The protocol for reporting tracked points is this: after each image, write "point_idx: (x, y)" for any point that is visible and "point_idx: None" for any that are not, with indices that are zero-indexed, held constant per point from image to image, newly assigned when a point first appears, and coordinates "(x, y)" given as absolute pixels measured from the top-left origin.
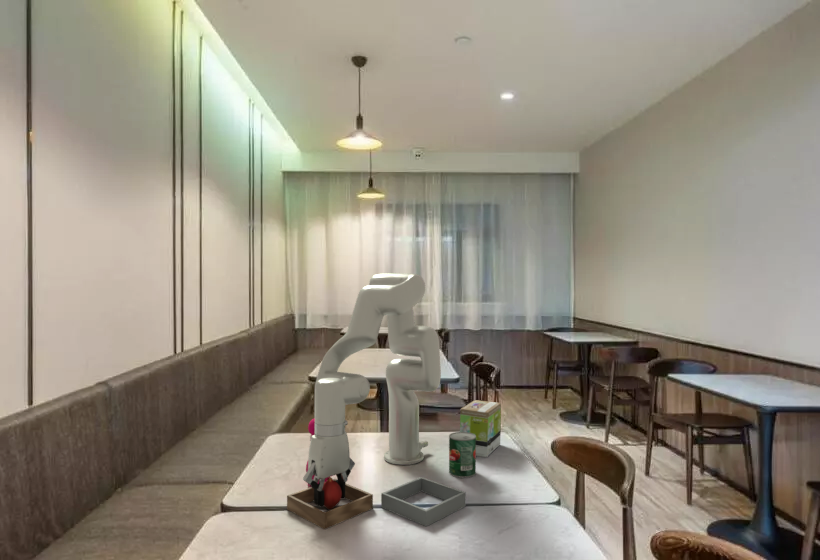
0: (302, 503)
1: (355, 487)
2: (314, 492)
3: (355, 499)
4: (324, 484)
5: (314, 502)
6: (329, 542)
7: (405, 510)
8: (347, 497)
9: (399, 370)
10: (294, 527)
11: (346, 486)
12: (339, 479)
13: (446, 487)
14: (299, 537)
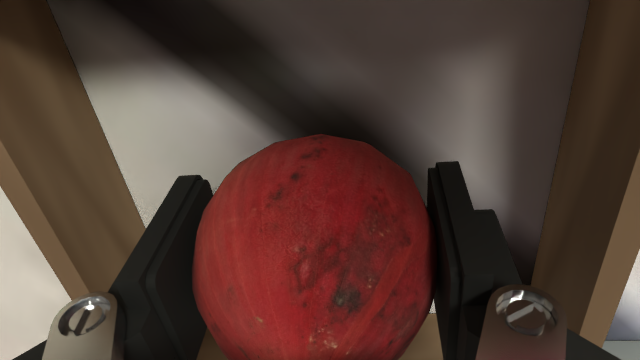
0: (28, 224)
1: (629, 270)
2: (116, 287)
3: (555, 224)
4: (225, 345)
5: (179, 177)
6: None
7: None
8: (572, 123)
9: None
10: (19, 223)
11: (623, 168)
12: (463, 357)
13: None
14: (31, 309)
